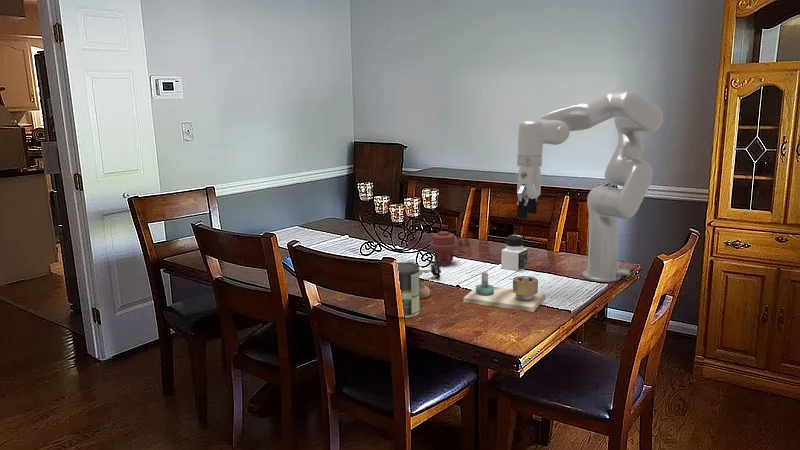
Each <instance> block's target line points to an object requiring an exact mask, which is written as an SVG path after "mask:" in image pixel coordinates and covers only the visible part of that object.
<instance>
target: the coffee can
mask: <svg viewBox="0 0 800 450" xmlns="http://www.w3.org/2000/svg"><path fill="white" fill-rule="evenodd" d="M408 262H409V261H402V262H396V263H397V264H398V271H399V281H400V289H401V295H402V302H403V309H404V316H405V318H404V319H407V318H413V317H416V316H418V315H420V314H421V313H420V312H421V311H420V298H419V283H420V275H419V268H420V267H421V266H420V265H419V264H417V263H416V264H414V263H408Z"/></svg>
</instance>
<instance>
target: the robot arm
mask: <svg viewBox="0 0 800 450" xmlns="http://www.w3.org/2000/svg"><path fill="white" fill-rule="evenodd" d="M612 118H613V121H614V125H615V128H616V130H617V135H618V139H617V140H618V141H617V145H616V146H615V147H616V148H615V150H614V152H613V153H612V156H611V158H610V160H609V162H608V164H607V166H606V168H605V172H604V179H605V181H606V183H608V184H610V185H612V186H606V185H599V186H595V187H593V188H592V189H591V190H590V191H589V193H588V194H587V198H586V200H587V201H586V203H587V204H586V205H587V210H588V219H589V221H588V222H589V223H588V224H589V225H588V226H589V227H588V228H589V231H588V249H587V251H588V252H587V269H586V270H584V271H582V277H583V278H584V279H587V280H589V281H593V282H594V281H595V282H602V283H611V282H616V281H619V280H620V279H621V278H622V276H630V274H631V270H630V269H628V268H627V267H625V268H624V267H621V266H619V263H618V246H619V244H618V243H619V229H620V228H619V224H618V223H619V221H618V219H624V220H625V219H630V218H632V217H634V216H635V214H637V212H638V210H640V209H639V208H640V206H641V204H642V202H643V201H644V199H645V196H646V194H647V192H648V190H649V188H650V186H651V184H652V181H653V180H652V179H653V174H654V173H653V168H652V166H651V164H650V163H648V161H646V160H642V159H641V157H642V154H643V151H644V141H643V137H642V135H641V133H640V132H643V133H644V132H645V133H646V132H647V133H651V132H655V131H657V130H659V129H660V128H661V126H662V124H663V122H664V114H663V111H662V110H661V108H660V107H659V106H658V105H657V104H656V103H654V102H652V101H650V100H649V99H647V98H645V97H644V96H642V95H641V94H639V93H638V92H635V91H632V90H609V91H608V90H607V91H605V92H603V93H600V94H598V95H596V96H594V97H592V98H589V99H587V100H585V101H582V102H580V103H578V104H573V105H571V106H567V107H565V108H561V109H560V108H559V109H558V110H554V111H551V112H548V113H546V114H543V115H541V116H539V117H537V118H534V119H533V120H523V121H521V122H519V124H518V133H517V134H518V136H517V137H518V140H517V155H516V157H517V159H516V161H517V163H516V166H517V167H519V168H518V174H517V188H516V195H517V199H516V200H517V202H516V205H517V207H516V218H517V219H523V220H524V219H528V215H529V214H531V215H534V214H535V215H536V214H537V213H538V212H537V211H538V197H539V196H540V195H541V193H542V192H541V191H542V189H541V188H542V185H541V182H542V176H541V167H542V165H543V150H544V149H543V148H544V145H553V146H556V145H562V144H564V143H565V142H566V141H567V140H568V138H569V137H570V132H577V131H578V132H579V131H585V130H588V129H591V128H593V127H596V126H597V125H600V124H602V123H604V122H606V121H609V120H610V119H612ZM614 186H617V187H614ZM619 187H622V188H619Z"/></svg>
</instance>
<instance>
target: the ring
mask: <svg viewBox="0 0 800 450" xmlns="http://www.w3.org/2000/svg"><path fill="white" fill-rule="evenodd" d="M524 276H525V275H520V276H515V277H514V278H513V279H512V289H513V292H514V293H515V294H517V295H523V296H530V295H536V293H537V292H539V291H538V290H539V279H538V278H537V277H534V276H529V275H526V276H527V277H528V278H529V281H528V282H525V281H522V278H523V277H524Z"/></svg>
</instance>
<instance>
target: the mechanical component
mask: <svg viewBox="0 0 800 450" xmlns="http://www.w3.org/2000/svg"><path fill="white" fill-rule="evenodd" d="M455 237H456V236H455V234H454V233H451V232H449V231H445V230H444V231H443V230H441V231H438V232H436V233H433V234H432V241H431V242H430V245H429V247H430V248H431V249H432V250H433V251H434V252H433V253H434V261H435V260H438V262H439V263H438V264H440V266H442V267H446V266H447V265H448V264H451V263H452V261H453V260H454V250H455V249H457V246H458V243H457V242H456V239H455Z"/></svg>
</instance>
